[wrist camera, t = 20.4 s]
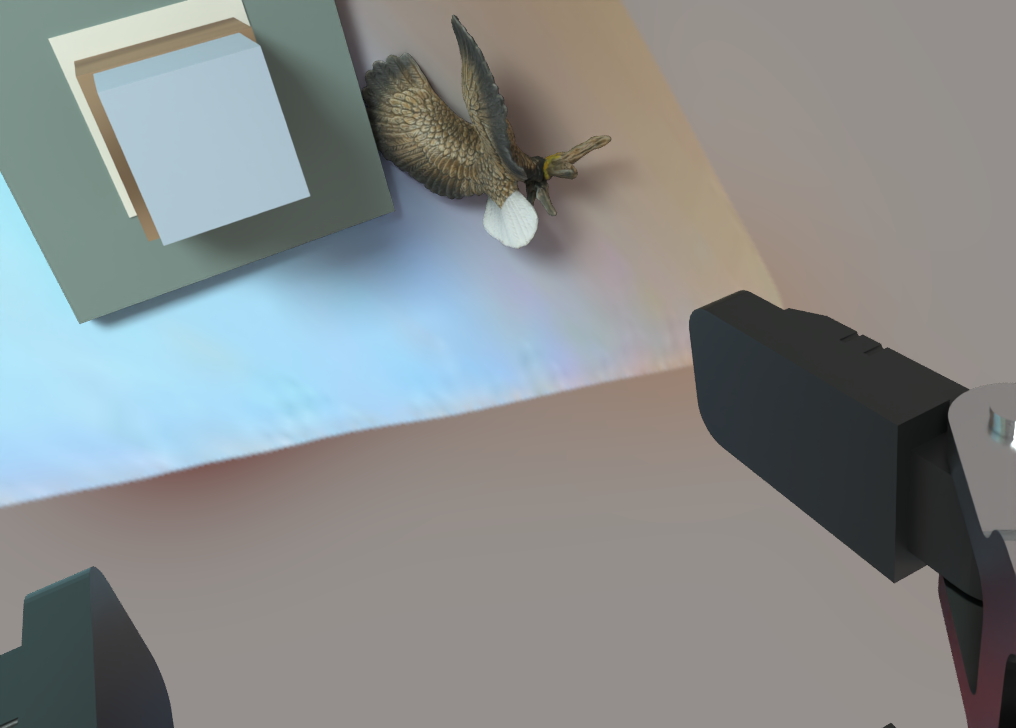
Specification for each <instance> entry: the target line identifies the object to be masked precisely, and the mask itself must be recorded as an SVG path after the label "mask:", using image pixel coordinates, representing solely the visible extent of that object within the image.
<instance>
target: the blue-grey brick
mask: <svg viewBox="0 0 1016 728" xmlns="http://www.w3.org/2000/svg"><path fill="white" fill-rule="evenodd" d="M93 76H94V80H95V85H96V89H97V93H98V96H99V98H100V100H101V103H102V105H103V107H104V109H105V112H106V114H107V116H108V119H109V121H110V123H111V126H112V128H113V130H114V132H115V135H116V137H117V139H118V142H119V144H120V146H121V149H122V151H123V153H124V155H125V158H126V160H127V162H128V165H129V167H130V169H131V172H132V174H133V176H134V178H135V181H136V183H137V185H138V188H139V190H140V192H141V195H142V197H143V199H144V201H145V204H146V206H147V208H148V211H149V213H150V215H151V218H152V220H153V222H154V224H155V227H156V229H157V231H158V234H159V236H160V238H161V241H162V243H163V245H164V246H165V245H168V244H171V243H174V242H177V241H180V240H183V239H185V238H188V237H191V236H194V235H197V234H200V233H203V232H206V231H209V230H212V229H215V228H218V227H221V226H224V225H227V224H230V223H233V222H235V221H238V220H241V219H244V218H247V217H250V216H253V215H256V214H259V213H262V212H265V211H268V210H271V209H274V208H277V207H280V206H283V205H286V204H288V203H291V202H294V201H297V200H300V199H303V198H306V197H309V196H310V193H309V190H308V187H307V184H306V181H305V178H304V175H303V172H302V169H301V166H300V163H299V160H298V157H297V154H296V151H295V148H294V145H293V142H292V139H291V136H290V133H289V130H288V127H287V124H286V121H285V118H284V115H283V112H282V109H281V106H280V103H279V100H278V97H277V94H276V91H275V88H274V85H273V82H272V79H271V76H270V73H269V70H268V67H267V64H266V61H265V58H264V55H263V52H262V49H261V46H260V45H258V44H257V43H255V42H254V41H252V40H250V39H249V38H247V37H246V36H244V35H242V34H241V33H236V34H232V35H229V36H225V37H222V38H218V39H215V40H211V41H208V42H204V43H201V44H197V45H193V46H190V47H186V48H183V49H179V50H176V51H172V52H169V53H165V54H162V55H158V56H155V57H151V58H148V59H144V60H141V61H137V62H134V63H130V64H127V65H123V66H119V67H116V68H112V69H109V70H105V71H102V72H98V73H95V74H93Z"/></svg>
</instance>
